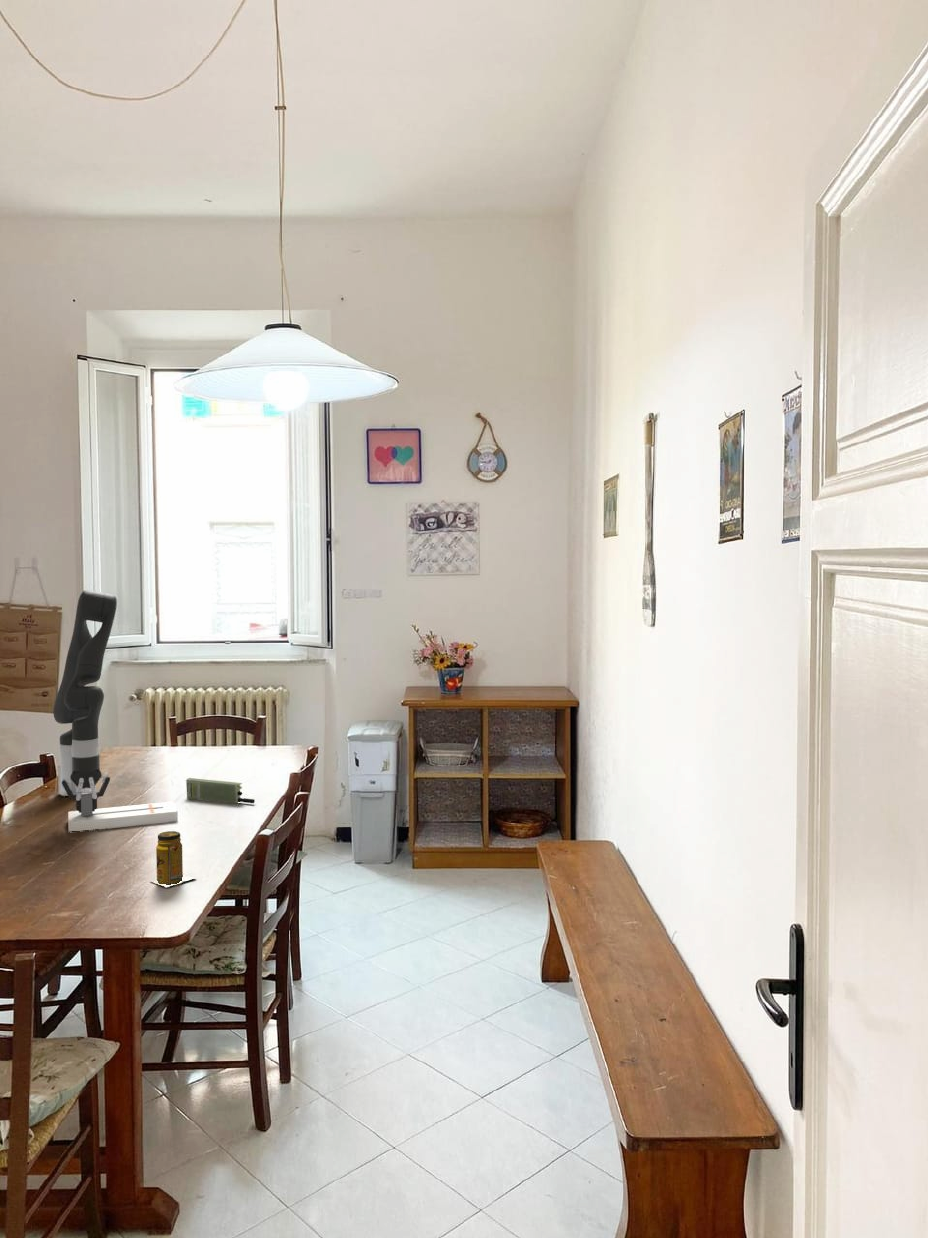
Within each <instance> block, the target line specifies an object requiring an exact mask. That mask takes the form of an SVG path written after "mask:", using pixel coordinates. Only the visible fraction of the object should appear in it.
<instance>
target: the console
mask: <svg viewBox="0 0 928 1238" xmlns="http://www.w3.org/2000/svg"><path fill="white" fill-rule="evenodd" d="M67 816H68V818H67V819H68V832H69V831H80V832H84V831H83V830H89V831H96V830H95V829H99V830H107V829H115V828H123V827H124V828H126V827H127V828H128V827H136V826H145V825H154V824H162V823H172V822H178V821H179V820H178V809H177V807H176V805H175V802H174V801H164V802H155V803H154V802H153V803H152V802H151V803H145V804H143V803H142V804H136V805H135V804H132V805H123V806H114V807H113V806H112V807H102V808H97V809H95V811H93V812H92V815H91V816H81V813H79V811H77V810H71V811H68V815H67ZM106 828H107V829H106ZM93 829H94V830H93ZM81 830H82V831H81Z"/></svg>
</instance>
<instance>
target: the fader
mask: <svg viewBox="0 0 928 1238" xmlns="http://www.w3.org/2000/svg"><path fill="white" fill-rule="evenodd" d="M80 799H81V816H91V815H92V792H91V791H88V792H82V793H81V798H80Z"/></svg>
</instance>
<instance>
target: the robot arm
mask: <svg viewBox="0 0 928 1238" xmlns="http://www.w3.org/2000/svg"><path fill="white" fill-rule="evenodd" d="M77 601H78V602H77V606H76V610H75V611H76V613H75V619H74V624H73V625H74V626H73V629H72V630H73V632H72V636H71V640H70V644H69V646H68V651H67V656H66V659H65V664H64V670H63V675H62V679H61V682H60V686H59V688H58V691H57V694H56V697H55V700H54V704H53V718H54V721H55V722H56V723H58V724H60V725H61V724H62V725H63V724H64V725H66V724H71V729H70V730H68V731H66V732H63V733H62V734H61V735H60V736H59V754H60V755H59V760H60V764H59V765H58V766H57V773H58V774H57V775H58V776H57V777H58V778H57V779H58V783H57V784H58V795H60V796H62V797H65V796H69V797H68V798H69V799H70V800H75V811H79V813H81V793H82V792H88V791H91V792H92V812H93V811H95V809H98V798H100V797H103V796H104V794H105V793H106V790H107V788H108V786H109V783H110V781H111V777H110V775H105V774H102V771H101V770H100V769H101V768H100V767H101V765H100V760H101V759H100V750H101V749H100V743H99V719H100V714H101V711H102V708H103V703H104V700H105V693H104V691H103V689H102V688H101V687H99V686H96V685H95V686H94V685H90V684H94V683H97V682H98V681H100V679H101V677H102V676H101V675H102V670H103V665H104V664H103V662H104V658H105V657H104V656H105V651H106V649H107V645H108V642H109V639H110V635H111V631H112V628H113V624H114V621H115V617H116V611H117V606H118V603H117V602H118V600H117V597H116V596H115V595H114V594H111V593H107V592H106V593H105V592H100V591H94V590H89V589H88V590H87V589H86V590H83V591H81V593H80V595H79V598H78V600H77ZM87 621H90V622H96V623H100V624H101V626H100V628H99V629H98V631H97V632H96V633H95V634H94V635H92V634H91V632H90V631H89V628H88V624H87ZM87 685H88V686H87ZM100 779H101V783H102V785H101V787H100V789H99V790H98V791H97V789H96V788H97V787H96V785H97V784H98V782H99V781H100Z"/></svg>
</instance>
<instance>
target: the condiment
mask: <svg viewBox="0 0 928 1238" xmlns="http://www.w3.org/2000/svg"><path fill="white" fill-rule="evenodd" d="M181 840H182V839H181V833H180V832H179V831H176V830H169V831H168V830H167V831H164V832H160V833H159V834H158V835H157V845H156V851H155V852H156V853H155V854H156V858H155V859H156V880H157V881H158V883H159V884H166V885H171V884H177V883H179V882H180V881H182V877H183V874H184V873H183V872H184V871H183V869H184V867H183V843H182V841H181Z"/></svg>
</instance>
